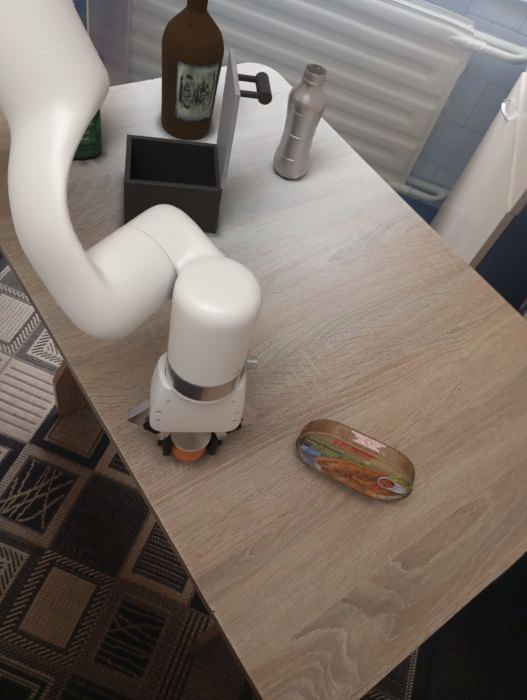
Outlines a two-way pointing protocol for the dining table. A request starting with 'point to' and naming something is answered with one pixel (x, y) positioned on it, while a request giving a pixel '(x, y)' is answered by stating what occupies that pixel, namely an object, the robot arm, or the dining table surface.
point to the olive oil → (190, 71)
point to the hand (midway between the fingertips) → (188, 443)
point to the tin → (356, 460)
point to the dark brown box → (172, 178)
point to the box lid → (236, 109)
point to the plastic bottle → (301, 123)
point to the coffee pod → (189, 444)
